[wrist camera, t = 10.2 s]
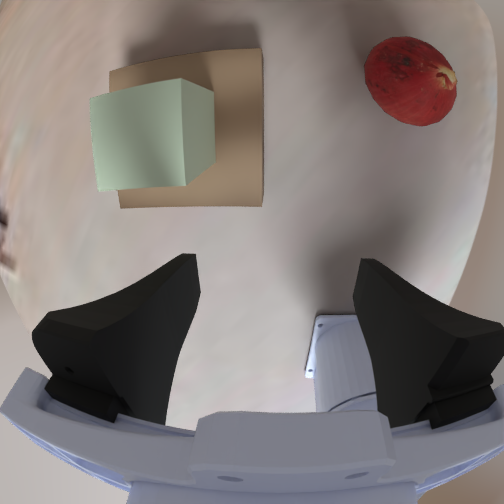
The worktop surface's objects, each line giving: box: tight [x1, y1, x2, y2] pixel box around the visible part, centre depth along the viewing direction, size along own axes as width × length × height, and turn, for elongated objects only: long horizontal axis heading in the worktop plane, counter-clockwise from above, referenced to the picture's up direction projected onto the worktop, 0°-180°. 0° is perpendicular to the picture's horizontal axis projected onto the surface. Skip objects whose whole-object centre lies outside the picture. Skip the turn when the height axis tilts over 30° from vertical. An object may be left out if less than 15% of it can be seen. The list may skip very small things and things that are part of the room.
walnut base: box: [109, 48, 264, 208], centre depth 16 cm, size 10×10×3 cm
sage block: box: [90, 78, 216, 192], centre depth 12 cm, size 4×4×6 cm
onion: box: [364, 37, 457, 126], centre depth 11 cm, size 6×6×8 cm
